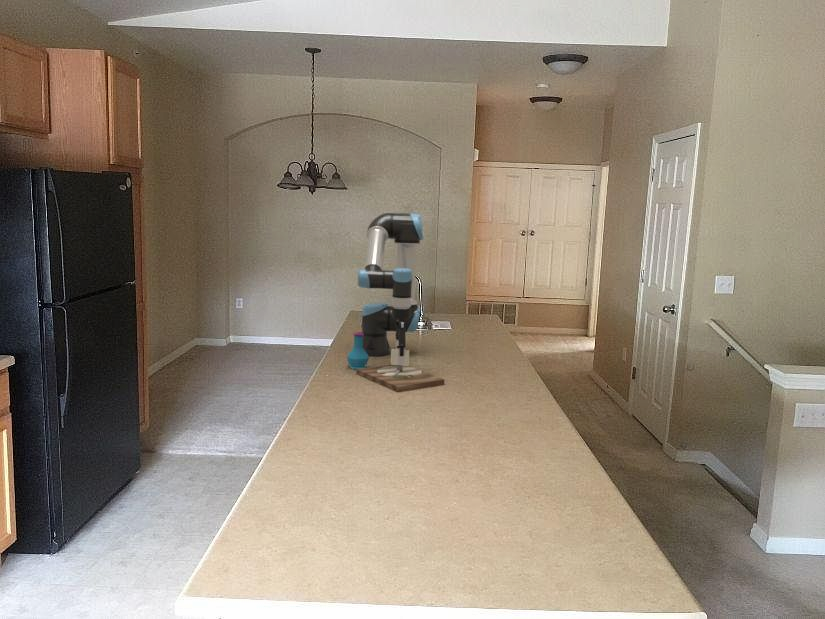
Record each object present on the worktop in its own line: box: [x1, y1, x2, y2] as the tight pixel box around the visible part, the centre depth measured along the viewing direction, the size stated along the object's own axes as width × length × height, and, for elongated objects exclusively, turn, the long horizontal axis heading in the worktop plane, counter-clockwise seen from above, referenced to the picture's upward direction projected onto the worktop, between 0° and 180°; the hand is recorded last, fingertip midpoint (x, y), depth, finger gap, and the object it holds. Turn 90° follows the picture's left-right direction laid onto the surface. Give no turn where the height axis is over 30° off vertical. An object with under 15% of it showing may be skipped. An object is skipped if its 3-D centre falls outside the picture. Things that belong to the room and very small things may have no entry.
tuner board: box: [355, 364, 446, 393], centre depth 262 cm, size 30×22×2 cm
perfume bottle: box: [346, 331, 370, 370], centre depth 278 cm, size 9×9×15 cm
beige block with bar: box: [390, 348, 410, 376], centre depth 261 cm, size 7×11×9 cm, turn 167°
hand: (399, 359), depth 265 cm, fingers open, 13 cm apart
